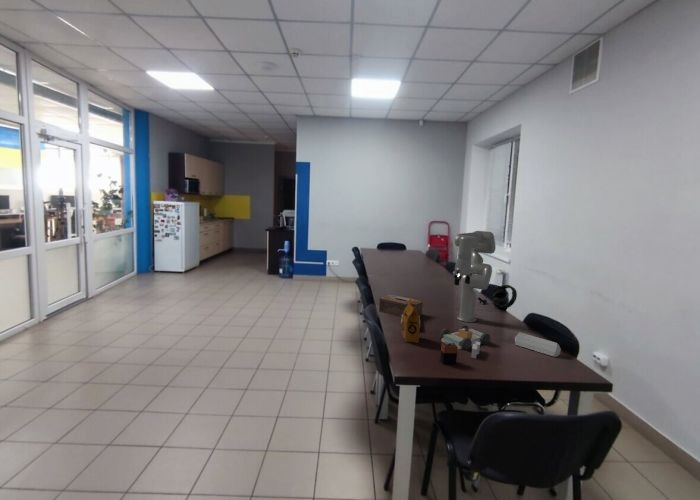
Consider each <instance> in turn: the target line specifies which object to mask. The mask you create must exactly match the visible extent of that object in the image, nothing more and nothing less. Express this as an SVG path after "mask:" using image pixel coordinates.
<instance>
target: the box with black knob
mask: <svg viewBox="0 0 700 500" xmlns="http://www.w3.org/2000/svg"><path fill="white" fill-rule="evenodd" d="M458 332H459V334H458V337H460V338H463V339H464V338H469V339H472V333H473V332H472V331H470V330H468V329H467V328H463V329H460V328H459V329H458Z"/></svg>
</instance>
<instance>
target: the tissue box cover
mask: <svg viewBox="0 0 700 500" xmlns="http://www.w3.org/2000/svg"><path fill="white" fill-rule="evenodd" d="M409 299H411V300H413V301H414V302H415V307H416V310H417V313H418V316H420V317H421V316H422V315H423V303H424V302H423V301H422V300H419V299H418V300H417V299H413V298H409V297H405V296H401V295H394V294H387V295H385V296H382V297H379V303H378V304H379V308H378V312H379V313H383V314H388V315H390V316H395V317H398V318H399V317H400V318H401V317H402V315H403V312H404V310H405V308H406V307H407V305H408V304H409V301H408V300H409Z"/></svg>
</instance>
